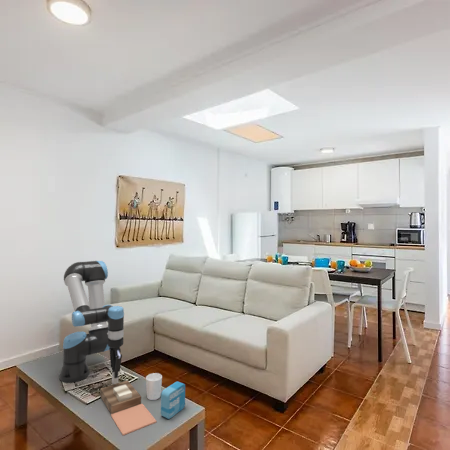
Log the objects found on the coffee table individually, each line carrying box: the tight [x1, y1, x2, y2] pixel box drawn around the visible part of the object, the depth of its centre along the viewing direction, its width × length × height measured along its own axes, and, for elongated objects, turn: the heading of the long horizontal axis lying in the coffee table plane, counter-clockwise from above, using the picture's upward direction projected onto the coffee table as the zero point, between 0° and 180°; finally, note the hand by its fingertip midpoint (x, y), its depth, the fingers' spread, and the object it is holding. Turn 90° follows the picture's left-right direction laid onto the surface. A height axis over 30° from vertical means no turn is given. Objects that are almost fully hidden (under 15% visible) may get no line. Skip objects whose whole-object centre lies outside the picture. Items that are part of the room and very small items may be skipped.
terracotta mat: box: [110, 403, 157, 436], centre depth 144 cm, size 16×15×1 cm
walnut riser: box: [99, 380, 142, 415], centre depth 158 cm, size 18×14×4 cm
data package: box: [160, 381, 186, 420], centre depth 150 cm, size 12×4×12 cm, turn 147°
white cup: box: [145, 372, 163, 401], centre depth 162 cm, size 8×8×10 cm
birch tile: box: [113, 384, 132, 402], centre depth 155 cm, size 9×6×2 cm, turn 37°
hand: (115, 382), depth 164 cm, fingers closed
